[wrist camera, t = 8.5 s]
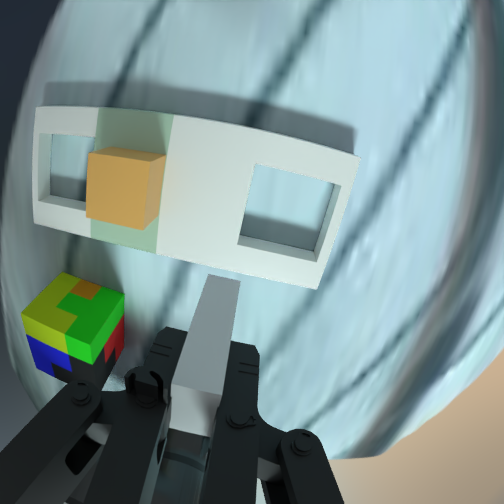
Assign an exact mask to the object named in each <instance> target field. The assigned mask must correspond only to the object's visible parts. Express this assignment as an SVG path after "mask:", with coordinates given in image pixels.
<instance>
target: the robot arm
mask: <svg viewBox="0 0 504 504" xmlns="http://www.w3.org/2000/svg"><path fill="white" fill-rule="evenodd" d="M239 287H240V281H238V280H233V279H229V278H224V277H220V276H215V275H211V274H208V277H207V280H206V282H205V285H204V288H203V291H202V294H201V297H200V299H199V302H198V305H197V308H196V311H195V314H194V317H193V320H192V322H191V325H190V328H189V331H188V332H186V331H182V330H178V329H174V328H170V327H165V328H164V329H163V330H161V331H160V332H159V333H158V334H157V336H156V338H155V341H154V343H153V345H152V347H151V349H150V353H149V354H148V356H147V359H146V361H145V363H144V365H143V366H141V367H135V368H133V369H131V370H130V371H128V372H127V374H126V375H125V376H124V378H125V386H126V390H123V391H99V389H98V387H96V386H95V385H94V384H93V383H91V382H89V381H87V380H75V381H71V382H70V383H68V384H67V385H65V386H64V387H63V388H62V389H61V390H60V391H59V392H58V393H57V394H56V395H55V396H54V397H53V398H52V399H51V400H50V401H49V402H48V403H47V404H46V405H45V406H44V407H43V408H42V409H41V410H40V412H39V413H38V414H37V415H36V416H35V417H34V418H33V419H32V420H31V421H30V422H29V423H28V424H27V425H26V426H25V427H24V428H23V429H22V430H21V431H20V432H19V433H18V434H17V435H16V437H14V438H13V439H12V441H11V442H10V443H9V444H8V445H7V446H6V447H5V448H4V449H3V450H2V451H1V452H0V504H255V503H256V486H257V478H259V479H260V480H261V484H262V488H263V492H264V496H265V500H266V504H344V501H343V498H342V496H341V493H340V491H339V488H338V485H337V483H336V480H335V477H334V475H333V472H332V470H331V467H330V464H329V462H328V459H327V456H326V454H325V451H324V449H323V446H322V443H321V442H320V440H319V438H318V437H317V436H316V435H315V434H313V433H312V432H310V431H307V430H305V429H294V430H291V431H288V432H284V431H282V430H279V429H277V428H274V427H272V426H270V425H269V424H267V423H266V422H265V421H264V420H263V419H262V418H261V416H260V415H259V412H258V408H257V401H258V381H259V360H260V355H259V353H258V351H257V349H256V347H255V345H250V344H245V343H240V342H235V341H231V336H232V330H233V324H234V318H235V312H236V305H237V299H238V293H239Z"/></svg>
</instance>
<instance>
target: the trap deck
mask: <svg viewBox="0 0 504 504" xmlns="http://www.w3.org/2000/svg"><path fill="white" fill-rule="evenodd" d="M52 134H62V135H74V136H86V137H95V144H94V151H96V150H100V149H103V148H107V147H117V148H125V149H132V150H139V151H145V152H151V153H158V154H164V155H166V160H165V167H164V174H163V181H162V189H161V197H160V205H159V214H158V216H157V217H156V218H155V219H154V220H153V221H152V222H151V223H150V224H149V225H148V226H147V227H146V228H145V229H144V230H138V229H134V228H130V227H125V226H121V225H117V224H112V223H108V222H104V221H99V220H95V219H90V218H86V202H83V201H78V200H73V199H68V198H63V197H58V196H53V195H50V165H51V145H52ZM360 159H361V158H360V157H358V156H356V155H354V154H352V153H348V152H345V151H342V150H339V149H335V148H332V147H329V146H325V145H322V144H318V143H315V142H311V141H307V140H304V139H300V138H296V137H292V136H288V135H284V134H280V133H276V132H271V131H267V130H263V129H258V128H253V127H249V126H244V125H239V124H234V123H229V122H223V121H218V120H212V119H206V118H200V117H193V116H187V115H180V114H172V113H165V112H156V111H147V110H137V109H126V108H112V107H95V106H39V107H36V112H35V122H34V135H33V154H32V199H33V218H34V223H35V224H39V225H43V226H47V227H50V228H54V229H58V230H62V231H66V232H70V233H73V234H77V235H81V236H85V237H89V238H93V239H97V240H101V241H105V242H109V243H113V244H117V245H121V246H125V247H130V248H134V249H138V250H142V251H146V252H150V253H154V254H159V255H163V256H167V257H171V258H176V259H180V260H184V261H189V262H193V263H197V264H202V265H206V266H210V267H215V268H219V269H224V270H228V271H233V272H237V273H242V274H246V275H251V276H255V277H260V278H265V279H269V280H274V281H279V282H283V283H288V284H293V285H298V286H302V287H307V288H312V289H317V288H318V285H319V282H320V280H321V277H322V274H323V272H324V269H325V266H326V263H327V261H328V258H329V255H330V252H331V249H332V247H333V244H334V241H335V238H336V235H337V232H338V229H339V226H340V223H341V220H342V217H343V214H344V211H345V208H346V205H347V202H348V199H349V196H350V192H351V189H352V186H353V183H354V179H355V176H356V173H357V169H358V166H359V163H360ZM255 164H259V165H264V166H268V167H272V168H276V169H281V170H285V171H289V172H293V173H297V174H301V175H305V176H308V177H312V178H316V179H320V180H323V181H327V182H330V183H334V184H335V185H334V189H333V192H332V195H331V199H330V202H329V205H328V208H327V212H326V215H325V218H324V221H323V224H322V227H321V231H320V234H319V237H318V240H317V243H316V246H315V249H314V252H313V251H309V250H304V249H300V248H296V247H291V246H287V245H283V244H278V243H274V242H269V241H265V240H261V239H256V238H252V237H247V236H243V235H240V231H241V226H242V221H243V217H244V213H245V208H246V204H247V199H248V195H249V190H250V186H251V181H252V177H253V173H254V168H255Z"/></svg>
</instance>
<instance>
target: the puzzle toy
mask: <svg viewBox="0 0 504 504" xmlns="http://www.w3.org/2000/svg"><path fill="white" fill-rule="evenodd" d="M124 295H125V294H123V293H120V292H117V291H114V290H111V289H108V288H105V287H103V286H100V285H97V284H94V283H91V282H88V281H86V280H83V279H80V278H77V277H75V276H72V275H69V274H67V273H64V272H61V273H60V274H59V275H58V276H57V277H56V278H55V279H54V280H53V281H52V282H51V283H50V284H49V285H48V286H47V287H46V288H45V289H44V290H43V291H42V292H41V293H40V294H39V295H38V296H37V297H36V298H35V299H34V300H33V301H32V302H31V303H30V304H29V305H28V306H27V307H26V308H25V309H24V310H23V311H22V312H21V317H22V321H23V325H24V328H25V332H26V336H27V339H28V343H29V346H30V349H31V353H32V356H33V359H34V362H35V365H36V368H37V369H39V370H41V371H43V372H45V373H47V374H49V375H51V376H53V377H55V378H57V379H59V380H61V381H63V382H65V383H67V384H68V383H70V382H71V381H75V380H87V381H89V382H91V383H93V384H94V385H95V386H96V387H98V389H99V391H101V390H102V388H103V386H104V384H105V382H106V381H107V379H108V377H109V375H110V373H111V371H112V369H113V367H114V365H115V363H116V361H117V359H118V357H119V356H120V354H121V352H122V350H123V348H124Z"/></svg>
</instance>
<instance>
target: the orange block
mask: <svg viewBox="0 0 504 504" xmlns="http://www.w3.org/2000/svg"><path fill="white" fill-rule="evenodd" d="M165 160H166V155H164V154H158V153H151V152H145V151H139V150H132V149H125V148H117V147H107V148H103V149H100V150H96V151H93V152H90V153H89V155H88V169H87V187H86V218H90V219H95V220H99V221H104V222H108V223H112V224H117V225H121V226H125V227H130V228H134V229H138V230H144V229H145V228H146V227H147V226H148V225H149V224H150V223H151V222H152V221H153V220H154V219H155V218H156V217H157V216H158V214H159V205H160V197H161V189H162V181H163V174H164V167H165Z"/></svg>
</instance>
